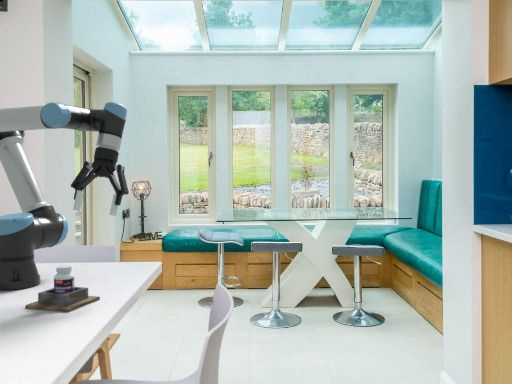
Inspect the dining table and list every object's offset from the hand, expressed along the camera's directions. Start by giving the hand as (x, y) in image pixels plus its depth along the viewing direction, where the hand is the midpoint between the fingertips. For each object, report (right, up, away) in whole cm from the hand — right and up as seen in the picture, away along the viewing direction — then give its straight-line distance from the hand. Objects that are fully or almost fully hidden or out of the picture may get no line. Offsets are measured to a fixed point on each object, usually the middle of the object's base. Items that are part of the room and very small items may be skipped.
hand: (94, 212), depth 160 cm
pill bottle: (-2, -24, -19) cm, 31 cm away
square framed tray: (-2, -25, -19) cm, 32 cm away
